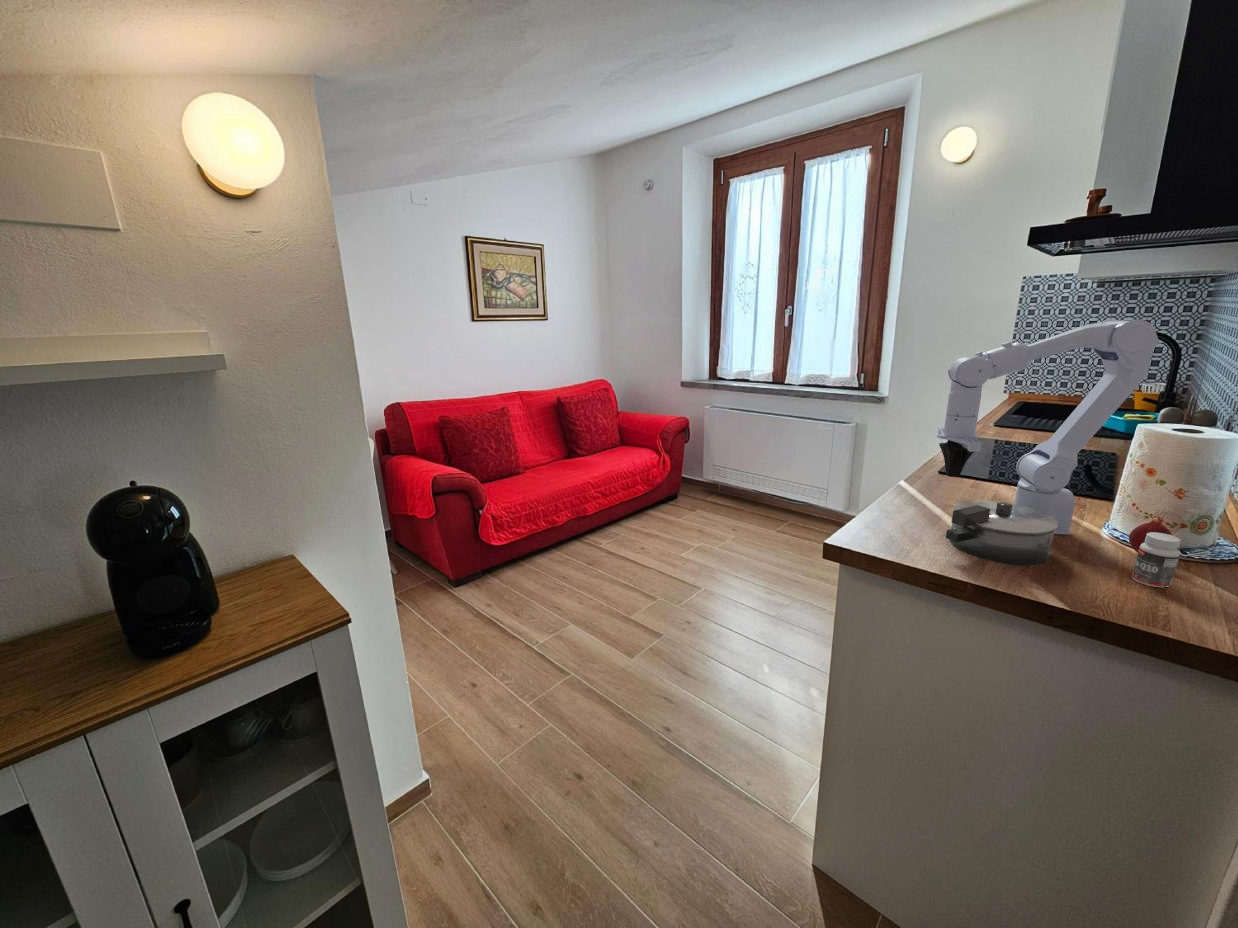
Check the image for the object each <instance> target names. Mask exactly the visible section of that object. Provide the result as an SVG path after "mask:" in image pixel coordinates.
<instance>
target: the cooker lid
mask: <svg viewBox="0 0 1238 928" xmlns="http://www.w3.org/2000/svg"><path fill="white" fill-rule="evenodd" d="M951 512H952V517H951V524H952V523H954V524H957V525H960V526H962V527H966V526H970V525H975V526H978V527H982V528H985V529H989V530H994V531H999V532H1005V533H1012V534H1022V535H1041V534H1048V533H1052V532H1054V531H1056V529H1057V526H1058V522H1057V520H1056V519H1055V518H1053V517H1052V516H1050V515H1048V514H1046V513H1044V512H1041V511H1038V510H1036V509H1032V508H1029V507H1025V506H1021V505H1016V504H1014V503H1011V502H1004V501H995V500H985V499H983V500H982V499H974V500H973V499H972V500H971V499H970V500H963V501H959V502H957V503H954V504H953V506H952V510H951Z"/></svg>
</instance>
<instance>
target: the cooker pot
mask: <svg viewBox="0 0 1238 928" xmlns="http://www.w3.org/2000/svg"><path fill="white" fill-rule="evenodd" d="M1054 535H1055V534H1054V532H1052V533H1048V534H1041V535H1022V534H1012V533H1005V532H999V531H994V530H989V529H985V528H982V527H978V526H975V525H970V526H966V527H962V526H960V525H957V524H954V523H951V527H950V529H947V530H946V533H945V539H947V540H949V542H950V543H951V545H952V546H954V547H955V548H956V549H957V550H959V551H961V552H964V553H966V554H968V555H971V556H973V557H976V558H979V559H983V560H986V561H991V562H995V563H1000V564H1007V565H1015V566H1034V565H1035V566H1036V565H1040V564H1043V563H1045V562H1047V561H1049V557H1050V553H1051V549H1052V543H1053V540H1054V539H1053V538H1054Z"/></svg>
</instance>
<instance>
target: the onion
mask: <svg viewBox="0 0 1238 928" xmlns="http://www.w3.org/2000/svg"><path fill="white" fill-rule="evenodd" d="M1150 532H1156V533H1164V534H1169V535H1172V536H1174V535H1173V533H1172V531H1171V530H1170V529H1168V527H1166V526H1165V525H1163V524H1162V523H1161V521H1160V519H1159V518H1157V517H1154V518H1152V519H1151V521H1150V522H1149V521H1148V522H1146V523H1143V524H1139V525H1138V526H1136V527H1135V528H1134V529H1132V530H1131V531H1130V533H1129V535H1128V542H1129V544H1130V546H1131V549H1133V551H1134V552H1136V553H1137V554H1138V551H1139V547H1140V545H1141V544H1142V543H1145V538H1146V535H1147V533H1150Z"/></svg>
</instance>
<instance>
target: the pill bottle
mask: <svg viewBox="0 0 1238 928" xmlns="http://www.w3.org/2000/svg"><path fill="white" fill-rule="evenodd" d="M1172 535H1173V534H1172ZM1172 535H1169V534H1164V533H1156V532H1150V533H1147V535H1146V538H1145V543H1142V544H1141V545H1140V547H1139V551H1138V553H1137V554H1136V560H1135V563H1134V566H1133V570H1132V573H1131V579H1133V580H1134V581H1135V582H1137V583H1139V584H1141V583H1142V585H1143V584H1145V585H1144V586H1146V585H1148V586H1147V587H1150V586H1155V587H1166V586H1170V585H1172V582H1173V580H1174V576H1175V572H1176V569H1177V565H1178V562H1179V559H1180V556H1181V552H1180V550H1179V548H1180V545H1181V541H1182V540H1181V538H1179V537H1177V536H1175V535H1173V536H1172ZM1155 587H1154V588H1155ZM1170 587H1171V586H1170Z"/></svg>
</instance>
